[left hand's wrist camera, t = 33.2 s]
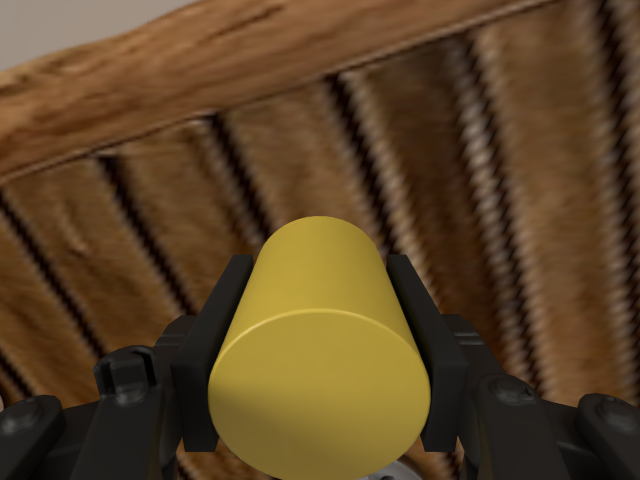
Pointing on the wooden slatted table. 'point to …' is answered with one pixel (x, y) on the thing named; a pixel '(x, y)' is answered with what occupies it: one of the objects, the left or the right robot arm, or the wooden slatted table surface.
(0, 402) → the anatomical model
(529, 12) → the wooden slatted table surface
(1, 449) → the left robot arm
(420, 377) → the cylinder
